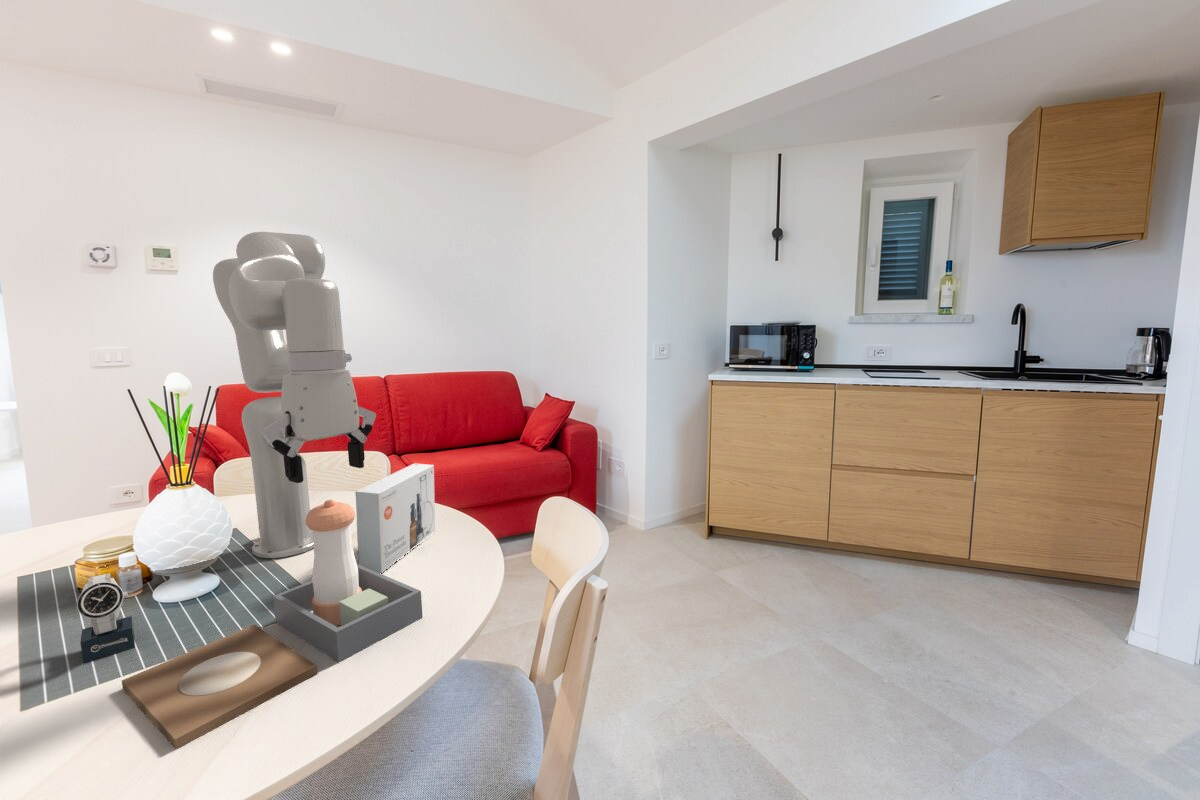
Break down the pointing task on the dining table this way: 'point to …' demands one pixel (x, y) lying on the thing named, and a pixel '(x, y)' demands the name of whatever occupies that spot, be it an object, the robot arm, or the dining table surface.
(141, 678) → the serving board
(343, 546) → the pepper shaker
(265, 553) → the robot arm
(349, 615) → the sage block
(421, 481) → the skincare box
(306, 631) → the bin
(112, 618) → the watch
